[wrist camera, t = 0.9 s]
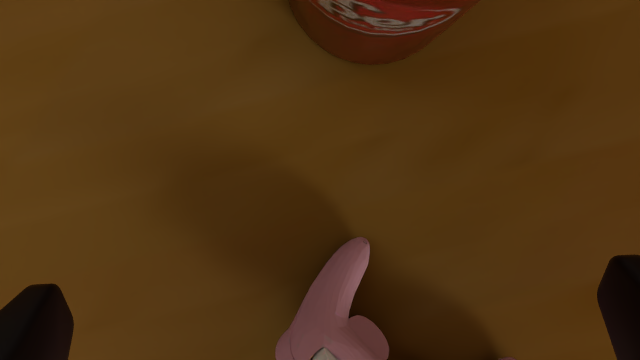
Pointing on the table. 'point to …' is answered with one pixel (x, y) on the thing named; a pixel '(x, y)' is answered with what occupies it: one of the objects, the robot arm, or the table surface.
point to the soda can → (376, 26)
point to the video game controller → (335, 314)
